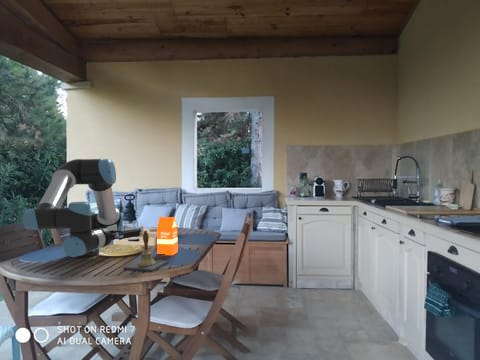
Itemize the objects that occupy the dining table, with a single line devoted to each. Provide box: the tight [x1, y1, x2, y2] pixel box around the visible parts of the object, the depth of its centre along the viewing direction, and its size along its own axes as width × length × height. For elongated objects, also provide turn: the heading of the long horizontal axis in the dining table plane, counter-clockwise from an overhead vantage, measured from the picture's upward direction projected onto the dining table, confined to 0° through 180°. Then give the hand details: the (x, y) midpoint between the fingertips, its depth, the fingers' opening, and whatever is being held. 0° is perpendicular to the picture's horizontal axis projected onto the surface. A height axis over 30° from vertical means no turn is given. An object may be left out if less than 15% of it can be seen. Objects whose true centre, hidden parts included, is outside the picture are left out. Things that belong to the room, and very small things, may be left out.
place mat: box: [123, 258, 169, 273], centre depth 173 cm, size 15×15×1 cm
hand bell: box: [138, 230, 156, 266], centre depth 172 cm, size 8×8×16 cm
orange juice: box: [156, 216, 179, 256], centre depth 197 cm, size 8×9×20 cm
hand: (129, 228), depth 163 cm, fingers open, 13 cm apart
